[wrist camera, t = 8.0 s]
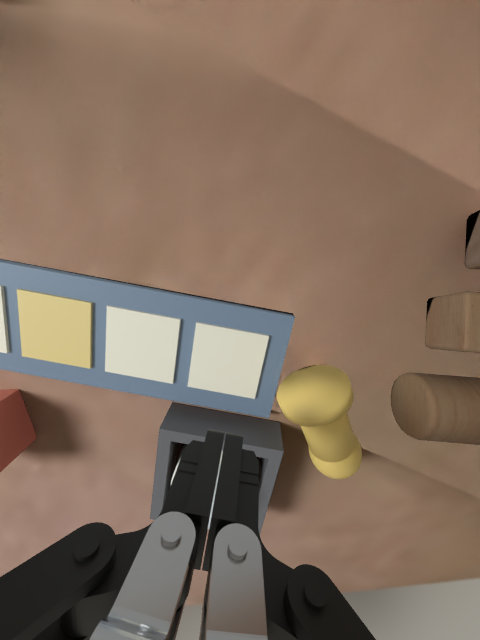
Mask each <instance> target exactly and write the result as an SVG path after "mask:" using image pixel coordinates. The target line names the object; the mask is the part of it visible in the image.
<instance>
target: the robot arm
mask: <svg viewBox="0 0 480 640" xmlns="http://www.w3.org/2000/svg"><path fill="white" fill-rule="evenodd" d="M224 435H225V432H222V431H217V430H211V429H208V431H207V434H206V438H205V441H204V442H202V441H196V440H192V441H191V442H190V443H189V444H188V445H187V446H186V447H185V448H184V451H183V454H182V456H181V459H180V462H179V465H178V467H177V471H176V473H175V475H174V478H173V481H172V484H171V486H170V489H169V492H168V495H167V497H166V500H165V503H164V506H163V508H162V511H161V513H160V514H159V516H158V517H157V518H156V520H155V521H154V522H152V523H151V524H150V525H149V526H147V527H145V528H143V529H141V530H139V531H135V532H129V533H123V534H117V535H115V533H114V531H113V529H112V528H111V527H110V526H109V525H107V524H104V523H98V522H96V523H90V524H87V525H84V526H82V527H80V528H78V529H77V530H75V531H73V532H72V533H70V534H69V535H67V536H65V537H64V538H62V539H61V540H59V541H57V542H56V543H54V544H53V545H51V546H49V547H48V548H46V549H45V550H43V551H41V552H40V553H38V554H37V555H35V556H33V557H32V558H30V559H29V560H27V561H26V562H24V563H22V564H21V565H19V566H18V567H16V568H14V569H13V570H11V571H10V572H8V573H6V574H5V575H3V576H2V577H0V640H175V639H176V635H177V631H178V627H179V624H180V620H181V616H182V613H183V609H184V605H185V601H186V598H187V596H188V593H189V590H190V585H191V580H192V575H193V570H194V569H198V570H200V568H201V562H202V557H203V551H204V546H205V540H206V535H207V529H208V524H209V518H210V513H211V508H212V502H213V497H214V491H215V486H216V480H217V475H218V469H219V464H220V458H221V452H222V446H223V440H224ZM242 445H243V435H239V434H233V433H228V432H226V438H225V443H224V449H223V455H222V460H221V466H220V471H219V477H218V483H217V488H216V494H215V500H214V505H213V511H212V517H211V522H210V528H209V534H208V540H207V545H206V551H205V557H204V563H203V568H202V570H204V571H208V576H207V583H206V589H205V595H204V601H203V607H202V617H201V627H200V637H199V640H376V639H375V638H374V637H373V635H372V634H371V633H370V631H369V630H368V629H367V627H366V626H365V625H364V623H363V622H362V621H361V619H360V618H359V617H358V615H357V614H356V613H355V611H354V610H353V609H352V607H351V606H350V605H349V603H348V602H347V601H346V600H345V598H344V597H343V595H342V594H341V593H340V591H339V590H338V589H337V587H336V586H335V585H334V583H333V582H332V581H331V579H330V578H329V577H328V576H327V575H326V574H325V573H324V572H323V571H322V570H320V569H319V568H317V567H315V566H312V565H307V564H305V565H300V566H298V567H296V568H295V569H294V570H293V569H292V568H290V567H289V566H287V565H285V564H284V563H282V562H280V561H279V560H277V559H276V558H274V557H273V556H272V555H271V554H270V553H269V552H268V551H267V550H266V548H265V547H264V545H263V543H262V541H261V538H260V535H259V529H258V511H259V487H258V486H259V461H258V459H257V457H256V455H255V452H254V451H250V450H245V449H242Z"/></svg>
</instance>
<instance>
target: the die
mask: <svg viewBox="0 0 480 640" xmlns="http://www.w3.org/2000/svg"><path fill="white" fill-rule="evenodd" d="M36 438H37V436H36V433H35V430H34V428H33V425H32V422H31V420H30V417H29V414H28V412H27V409H26V406H25V404H24V401H23V398H22V396H21V393H20V390H19V389H10V390H0V472H1V471H2V470H3V469H4V468H5V467H6V466H8V465H9V464H10V463H11V462H12V461H13V460H14V459H15V458H16V457H17V456H18V455H19V454H20V453H21V452H22V451H24V450H25V449H26V448H27V447H28V446H29V445H30V444H31V443H32V442H33V441H34V440H35V439H36Z"/></svg>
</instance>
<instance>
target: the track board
mask: <svg viewBox="0 0 480 640" xmlns="http://www.w3.org/2000/svg"><path fill="white" fill-rule="evenodd" d="M294 319H295V317H294V315H293V313H287V312H282V311H277V310H271V309H266V308H261V307H255V306H250V305H245V304H239V303H234V302H229V301H223V300H218V299H213V298H207V297H202V296H196V295H191V294H186V293H180V292H175V291H170V290H164V289H159V288H154V287H148V286H143V285H138V284H132V283H127V282H122V281H116V280H111V279H106V278H100V277H95V276H89V275H84V274H79V273H73V272H68V271H63V270H57V269H52V268H47V267H41V266H36V265H31V264H25V263H20V262H15V261H9V260H4V259H0V369H2V370H8V371H13V372H19V373H24V374H30V375H35V376H41V377H46V378H52V379H57V380H63V381H68V382H73V383H79V384H84V385H90V386H95V387H101V388H106V389H112V390H117V391H123V392H128V393H134V394H139V395H145V396H150V397H155V398H161V399H166V400H172V401H177V402H183V403H188V404H194V405H199V406H205V407H210V408H216V409H221V410H227V411H232V412H237V413H243V414H248V415H254V416H259V417H265V418H269V416H270V413H271V409H272V405H273V401H274V397H275V393H276V389H277V385H278V381H279V377H280V373H281V369H282V366H283V362H284V358H285V354H286V350H287V346H288V342H289V338H290V334H291V330H292V326H293V322H294Z"/></svg>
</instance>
